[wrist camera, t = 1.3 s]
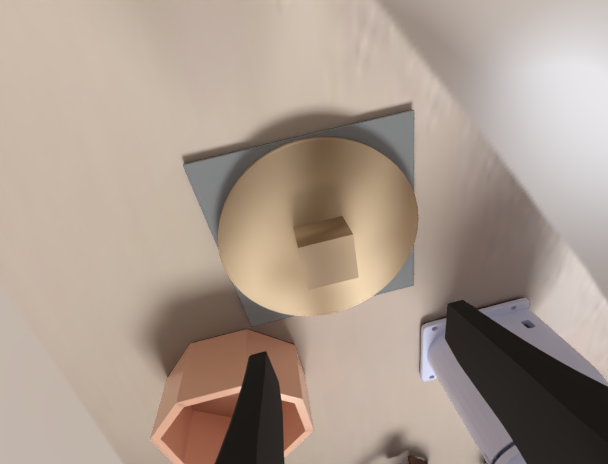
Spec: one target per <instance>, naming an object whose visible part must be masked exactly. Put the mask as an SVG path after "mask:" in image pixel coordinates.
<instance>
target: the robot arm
mask: <svg viewBox="0 0 608 464" xmlns="http://www.w3.org/2000/svg"><path fill="white" fill-rule="evenodd" d="M529 305H530V301H529V300H528V299H526V298H521V299H517V300H513V301H509V302H506V303H502V304H498V305H494V306H490V307H486V308H482V309H479V310H477V309H476V308H474V307H473V306H471V305H470V304H468V303H467V302H465V301H464V300H461V301H457V302H453V303H449V304H448V307H447V318H444V319H440V320H436V321H432V322H429V323H425V324H424V325H423V326H422V328H421V363H420V377H421V379H422V381H429V380H433V379H436V378H437V379H438V380H439V382H440V384H441V385H442V387H443V389H444V391H445V392H446V394H447V396H448V397H449V399H450V401H451V402H452V404H453V406H454V408H455V409H456V411H457V413H458V414H459V416H460V418H461V420H462V421H463V423H464V425H465V426H466V428H467V430H468V431H469V433H470V435H471V437H472V438H473V440H474V442H475V443H476V445H477V447H478V448H479V450H480V452H481V454H482V455H483V457H484V459H485V460H486V462H487V464H608V383H607V381H606V380H605V379H604V377H603V376H602V375H601V374H600V373H599V371H598V370H597V369H596V368H595V367H594V366H593V365H592V364H591V363H590V362H589V361H587V360H586V359H585V358H584V357H583V356H582V355H581V354H579V353H578V352H577V351H576V350H575V349H574V348H573V347H572V346H570V345H569V344H568V343H567V342H566V341H565V340H564V339H562V338H561V337H560V336H559V335H558V334H557V333H556V332H555V331H553V330H552V329H551V328H550V327H549V326H548V325H547V324H545V323H544V322H543V321H542V320H541V319H540V318H539V317H537V316H536V315H535V314H534V313H533V312H532V311H531V310H530V309H529ZM215 464H284V435H283V409H282V401H281V393H280V385H279V381H278V378H277V376H276V373H275V371H274V369H273V366H272V364H271V361H270V359H269V357H268V354H267V352H266V351H264V352H260V353H256V354H253V355H250V356H249V358H248V363H247V367H246V371H245V375H244V379H243V383H242V386H241V390H240V393H239V397H238V400H237V403H236V406H235V409H234V412H233V415H232V418H231V421H230V424H229V427H228V430H227V432H226V435H225V438H224V440H223V443H222V446H221V448H220V451H219V454H218V456H217V459H216V461H215Z"/></svg>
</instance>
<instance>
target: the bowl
mask: <svg viewBox="0 0 608 464" xmlns="http://www.w3.org/2000/svg"><path fill="white" fill-rule="evenodd" d="M264 351H266V352H267V354H268V357H269V359H270V361H271V364H272V366H273V369H274V371H275V373H276V376H277V378H278V381H279V385H280V393H281V401H282V409H283V435H284V458H285V457H286V456H287V455H288V454H289V453H290V452H291V451H292V450H293V449H295V448H296V447H297V446H298V445H299V444H300V443H301V442H302V441H303V440H304V439H305V438H306V437H307V436H308V435H309V434H311V433H312V432H313V431H314V428H313V422H312V416H311V410H310V404H309V397H308V391H307V385H306V379H305V375H304V372H303V368H302V365H301V362H300V359H299V356H298V353H297V350H296V347H295V345H294V344H291V343H288V342H285V341H282V340H278V339H275V338H272V337H269V336H266V335H263V334H260V333H257V332H254V331H251V330H248V329H245V330H241V331H237V332H233V333H229V334H225V335H221V336H218V337H214V338H210V339H206V340H202V341H198V342H194V343H190V344H189V346H188V347H187V349H186V350H185V352H184V353H183V355H182V356H181V358H180V359H179V361H178V363H177V364H176V366H175V367H174V369H173V370H172V372H171V373H170V375H169V376H168V378H167V381H166V385H165V388H164V392H163V395H162V399H161V402H160V406H159V409H158V413H157V416H156V420H155V424H154V427H153V431H152V434H151V438H150V440H151V441H152V442H153V443H154V444H155V445H156V446H157V447H158V448H159V449H160V450H161V451H162V452H163V453H164V454H165V455H166V456H167V457H168V458H169V459H170V460H171V461H172V462H173V463H174V464H215V461H216V459H217V456H218V454H219V451H220V448H221V446H222V443H223V440H224V438H225V435H226V432H227V430H228V427H229V424H230V421H231V418H232V415H233V412H234V409H235V406H236V403H237V400H238V397H239V393H240V390H241V386H242V383H243V379H244V375H245V371H246V367H247V363H248V358H249V356H250V355H253V354H256V353H260V352H264Z"/></svg>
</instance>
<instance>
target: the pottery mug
mask: <svg viewBox="0 0 608 464" xmlns="http://www.w3.org/2000/svg"><path fill="white" fill-rule="evenodd" d="M408 461H409V464H427V463H426V462H425V461H423V460H421V459H417V458H415V457H411V456H409V457H408Z"/></svg>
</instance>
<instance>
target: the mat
mask: <svg viewBox="0 0 608 464" xmlns="http://www.w3.org/2000/svg"><path fill="white" fill-rule="evenodd" d="M328 136H331V137H340V138H346V139H350V140H354V141H358V142H360V143H363V144H365V145H368V146H370V147H372V148H373V149H375V150H377V151H378V152H380V153H381V154H383V155H384V156H386V157H387V158H388V159H390V160H391V161H392V162H393V163H394V164H395V165H397V166H398V168H399V169H400V170H401V171H402V172H403V174H404V175H405V176H406V178H407V180H408V181H409V183H410V185H411V187H412V190H413V192H414V110H408V111H404V112H400V113H395V114H391V115H387V116H383V117H379V118H374V119H370V120H366V121H362V122H357V123H353V124H349V125H345V126H341V127H336V128H332V129H328V130H324V131H320V132H315V133H311V134H307V135H303V136H299V137H294V138H290V139H286V140H282V141H277V142H273V143H269V144H265V145H261V146H256V147H252V148H248V149H244V150H240V151H235V152H231V153H227V154H223V155H219V156H214V157H210V158H206V159H202V160H197V161H193V162H189V163H185V164H183V167H184V169H185V172H186V174H187V176H188V179H189V181H190V183H191V186H192V188H193V190H194V193H195V195H196V197H197V200H198V202H199V204H200V207H201V209H202V212H203V214H204V216H205V219H206V221H207V223H208V226H209V228H210V230H211V233H212V235H213V237H214V240H215V242H216V244H217V247H218V228H219V221H220V217H221V213H222V210H223V206H224V203H225V201H226V199H227V196H228V194H229V192H230V190H231V189H232V187H233V186H234V184H235V183H236V181H237V180H238V178H239V177H240V176H241V175H242V174H243V173H244V172H245V171H246V169H247V168H248V167H250V166H251V165H252V164H253V163H254V162H255V161H257V160H258V159H259V158H261V157H262V156H264V155H265V154H267V153H268V152H270V151H272V150H274V149H276V148H278V147H280V146H282V145H284V144H287V143H290V142H294V141H297V140H300V139H306V138H312V137H328ZM218 249H219V248H218ZM233 284H234V283H233ZM410 286H414V245H413V248H412V250H411V253H410V254H409V256H408V258H407V260H406V262H405V264H404V265H403V267H402V268H401V270H400V271H399V272H398V273H397V275H396V276H395V277H394V278H393V279H392V280H391V281H390V282H389V283H388V284H387V285H386V286H385V287H384V288H383V289H381V290H380V291H379V292H378V293H376V294H375V295H379V294H382V293H386V292H390V291H394V290H398V289H402V288H406V287H410ZM234 287H235V289H236V291H237V294H238V296H239V299H240V301H241V303H242V306H243V308H244V310H245V313H246V315H247V317H248V320H249V322H250V324H251V327H253V326H257V325H261V324H265V323H269V322H273V321H277V320H281V319H285V318H289V317H292V316H294V315H288V314H282V313H279V312H275V311H272V310H269V309H267V308H265V307H263V306H260V305H259V304H257V303H255V302H254V301H252V300H251V299H249V298H248V297H247V296H245V295H244V294H243V293H242V292H241V291H240V290H239V289H238V288H237V287H236V286H235V285H234ZM375 295H373V296H375Z"/></svg>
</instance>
